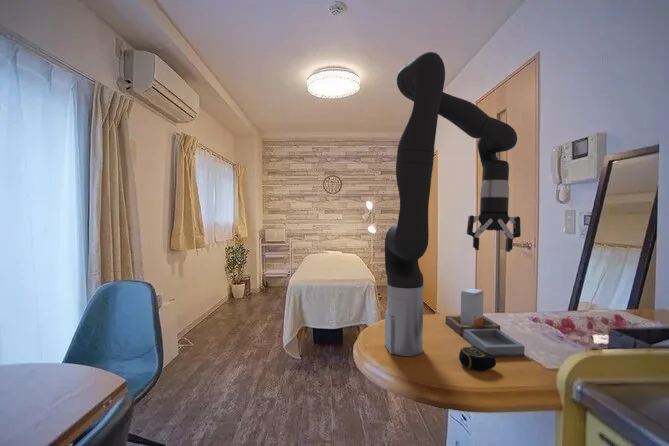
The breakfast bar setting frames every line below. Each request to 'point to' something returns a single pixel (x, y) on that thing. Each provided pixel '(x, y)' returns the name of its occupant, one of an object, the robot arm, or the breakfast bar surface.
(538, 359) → the breakfast bar surface
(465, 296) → the skincare box
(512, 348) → the tray
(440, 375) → the breakfast bar surface
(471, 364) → the tape measure
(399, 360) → the breakfast bar surface
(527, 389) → the breakfast bar surface
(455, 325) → the brown rectangular frame
